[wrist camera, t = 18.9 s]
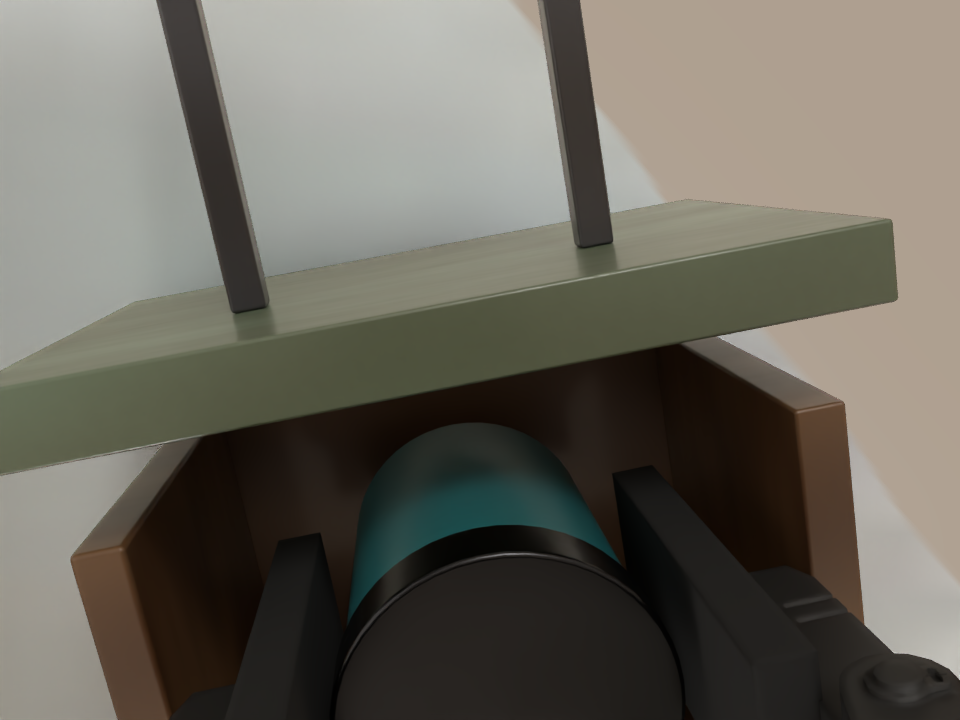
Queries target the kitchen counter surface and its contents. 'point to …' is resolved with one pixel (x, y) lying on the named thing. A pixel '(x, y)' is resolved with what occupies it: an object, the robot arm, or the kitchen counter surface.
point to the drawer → (438, 385)
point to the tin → (494, 595)
